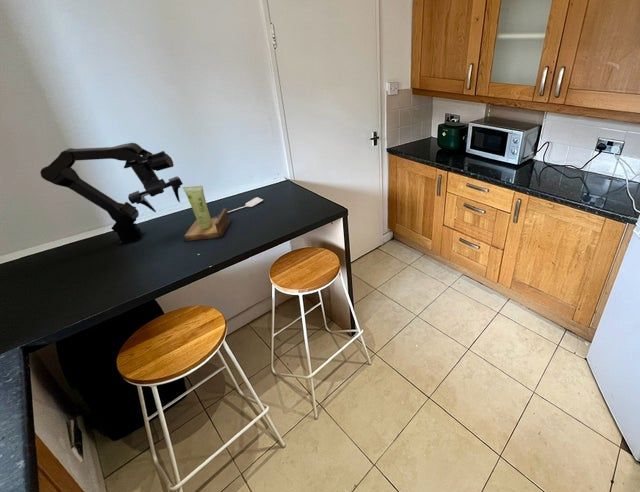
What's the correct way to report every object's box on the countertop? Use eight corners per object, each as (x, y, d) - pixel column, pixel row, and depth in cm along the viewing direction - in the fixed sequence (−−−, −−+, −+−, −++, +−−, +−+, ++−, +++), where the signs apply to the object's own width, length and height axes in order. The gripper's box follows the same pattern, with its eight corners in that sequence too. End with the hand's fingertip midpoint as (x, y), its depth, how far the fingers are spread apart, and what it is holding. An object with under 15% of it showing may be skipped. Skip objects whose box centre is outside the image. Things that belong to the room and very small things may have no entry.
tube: (201, 231, 135) (187, 189, 126) (196, 227, 138) (182, 186, 129) (214, 226, 139) (202, 185, 130) (209, 222, 141) (197, 182, 133)
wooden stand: (186, 240, 132) (180, 226, 129) (197, 224, 145) (193, 211, 141) (222, 237, 135) (217, 223, 132) (230, 221, 147) (226, 208, 144)
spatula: (264, 202, 166) (263, 199, 165) (207, 225, 144) (206, 222, 143) (257, 199, 169) (256, 196, 168) (200, 221, 147) (199, 218, 147)
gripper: (118, 189, 115) (143, 223, 123) (173, 169, 124) (194, 202, 132) (118, 182, 123) (142, 214, 131) (170, 163, 132) (190, 195, 140)
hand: (167, 206), depth 133 cm, fingers open, 9 cm apart
